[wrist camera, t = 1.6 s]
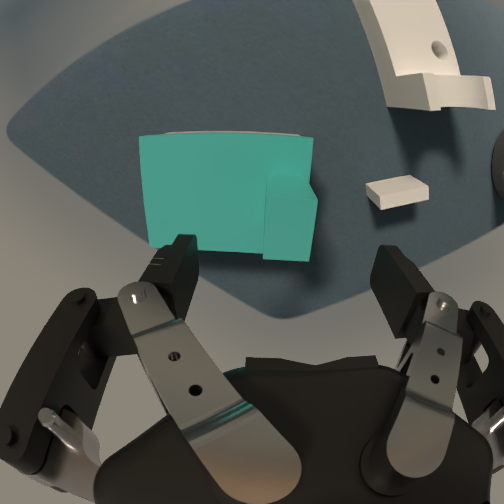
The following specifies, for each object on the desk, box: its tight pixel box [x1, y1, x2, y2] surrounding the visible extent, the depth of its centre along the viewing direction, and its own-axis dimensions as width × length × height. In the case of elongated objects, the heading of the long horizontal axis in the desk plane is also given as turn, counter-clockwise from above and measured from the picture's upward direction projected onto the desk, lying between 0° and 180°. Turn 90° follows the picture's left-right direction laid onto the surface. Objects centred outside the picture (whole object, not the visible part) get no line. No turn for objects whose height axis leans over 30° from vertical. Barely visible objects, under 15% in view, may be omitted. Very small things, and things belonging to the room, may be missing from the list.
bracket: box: [352, 0, 496, 111], centre depth 12 cm, size 13×7×8 cm, turn 17°
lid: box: [139, 132, 318, 262], centre depth 16 cm, size 12×9×6 cm
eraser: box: [365, 175, 429, 210], centre depth 21 cm, size 1×5×4 cm, turn 107°
